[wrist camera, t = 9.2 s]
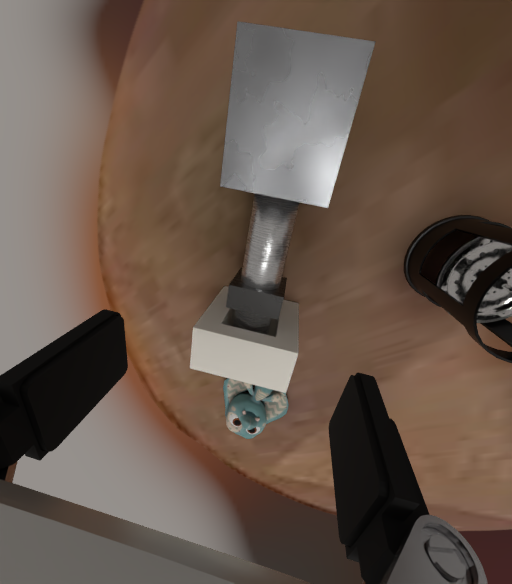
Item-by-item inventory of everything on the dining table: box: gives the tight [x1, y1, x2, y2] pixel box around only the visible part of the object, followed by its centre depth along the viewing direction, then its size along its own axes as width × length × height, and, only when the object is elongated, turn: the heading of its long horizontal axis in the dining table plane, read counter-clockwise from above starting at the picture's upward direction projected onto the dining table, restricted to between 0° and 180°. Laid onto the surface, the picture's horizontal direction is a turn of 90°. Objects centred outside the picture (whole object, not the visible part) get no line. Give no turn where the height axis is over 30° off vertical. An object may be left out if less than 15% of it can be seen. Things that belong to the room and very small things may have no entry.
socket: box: [190, 286, 299, 393], centre depth 28 cm, size 5×10×10 cm, turn 80°
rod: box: [226, 193, 299, 335], centre depth 24 cm, size 19×5×5 cm, turn 170°
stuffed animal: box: [223, 378, 288, 439], centre depth 36 cm, size 11×7×12 cm
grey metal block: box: [220, 22, 375, 208], centre depth 20 cm, size 9×8×10 cm
